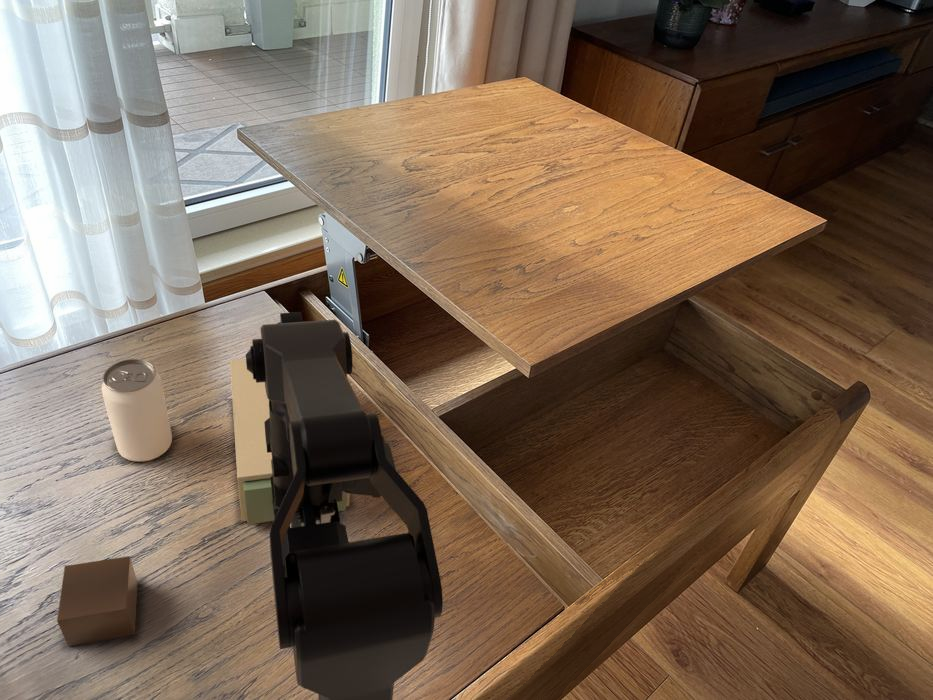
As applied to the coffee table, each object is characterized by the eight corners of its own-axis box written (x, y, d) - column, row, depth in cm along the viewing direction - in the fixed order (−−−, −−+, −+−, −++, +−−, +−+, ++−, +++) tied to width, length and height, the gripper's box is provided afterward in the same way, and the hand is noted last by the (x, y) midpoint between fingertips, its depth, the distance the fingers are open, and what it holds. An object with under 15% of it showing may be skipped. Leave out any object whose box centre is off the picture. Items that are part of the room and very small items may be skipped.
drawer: (352, 544, 82) (354, 511, 78) (250, 561, 79) (246, 527, 75) (325, 402, 99) (325, 369, 95) (239, 411, 96) (236, 376, 92)
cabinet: (349, 506, 88) (351, 463, 82) (242, 521, 84) (237, 477, 79) (327, 395, 101) (328, 352, 96) (234, 404, 98) (230, 360, 92)
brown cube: (134, 634, 72) (126, 608, 69) (68, 646, 70) (56, 620, 67) (137, 582, 76) (129, 555, 73) (75, 592, 75) (64, 565, 71)
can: (124, 424, 92) (107, 355, 85) (177, 425, 93) (164, 357, 86) (111, 463, 87) (91, 393, 80) (167, 464, 89) (152, 395, 81)
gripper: (414, 508, 60) (400, 607, 70) (373, 362, 73) (366, 462, 83) (277, 528, 57) (283, 629, 66) (260, 372, 70) (267, 475, 80)
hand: (305, 540), depth 74 cm, fingers closed
